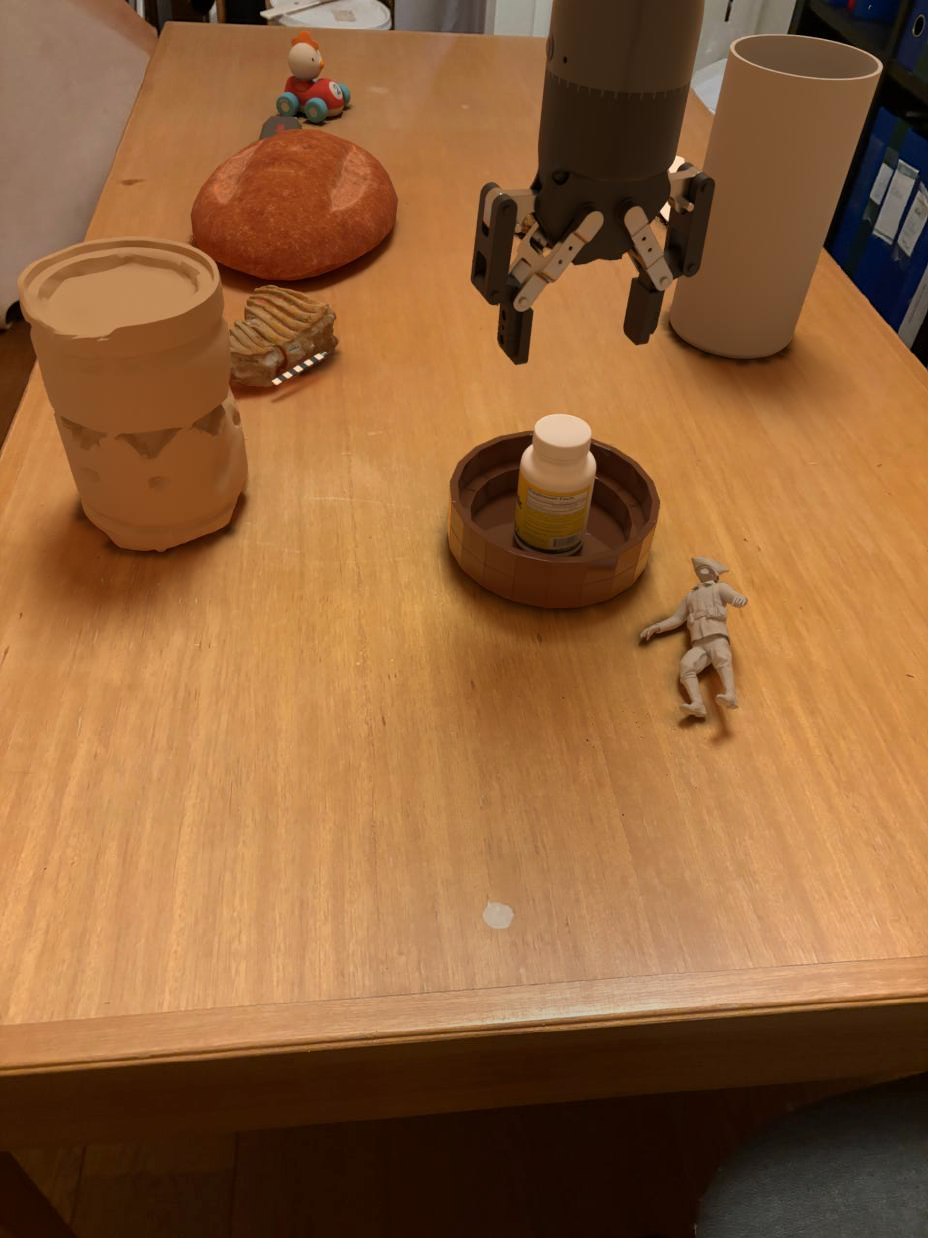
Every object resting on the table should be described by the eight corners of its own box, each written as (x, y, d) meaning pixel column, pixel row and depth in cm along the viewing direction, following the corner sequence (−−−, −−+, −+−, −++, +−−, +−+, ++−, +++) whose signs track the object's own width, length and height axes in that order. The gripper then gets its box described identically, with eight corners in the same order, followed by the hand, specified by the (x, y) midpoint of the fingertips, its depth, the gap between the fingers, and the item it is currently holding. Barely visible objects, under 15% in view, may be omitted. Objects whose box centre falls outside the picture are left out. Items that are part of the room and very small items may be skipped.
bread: (407, 179, 118) (407, 103, 112) (383, 300, 96) (382, 213, 90) (229, 168, 118) (220, 91, 112) (165, 285, 96) (148, 198, 90)
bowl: (683, 586, 68) (699, 534, 65) (494, 635, 64) (500, 583, 60) (590, 466, 78) (599, 416, 74) (419, 502, 74) (420, 450, 70)
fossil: (345, 340, 90) (255, 317, 90) (348, 289, 86) (253, 266, 85) (310, 423, 83) (213, 399, 83) (311, 374, 79) (207, 348, 79)
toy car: (327, 126, 130) (323, 46, 123) (271, 115, 132) (264, 35, 125) (356, 107, 136) (353, 29, 129) (302, 97, 138) (296, 19, 131)
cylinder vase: (652, 341, 93) (713, 60, 75) (686, 290, 101) (749, 25, 83) (776, 375, 90) (870, 90, 72) (801, 319, 98) (892, 50, 80)
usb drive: (257, 165, 119) (255, 142, 117) (266, 131, 127) (264, 110, 125) (298, 167, 120) (297, 144, 118) (304, 133, 128) (303, 111, 126)
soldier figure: (639, 721, 61) (629, 560, 66) (679, 739, 64) (666, 584, 69) (748, 693, 56) (728, 522, 61) (785, 714, 59) (763, 550, 64)
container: (177, 576, 67) (123, 349, 54) (49, 515, 70) (-31, 289, 57) (284, 484, 74) (260, 267, 61) (163, 434, 78) (116, 220, 65)
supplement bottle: (529, 506, 73) (543, 399, 66) (593, 528, 72) (614, 421, 65) (500, 546, 70) (512, 437, 63) (567, 570, 68) (587, 462, 61)
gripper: (523, 95, 43) (497, 398, 55) (777, 76, 47) (703, 361, 59) (463, 48, 48) (451, 336, 60) (699, 35, 52) (644, 306, 64)
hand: (576, 348), depth 59 cm, fingers open, 8 cm apart
